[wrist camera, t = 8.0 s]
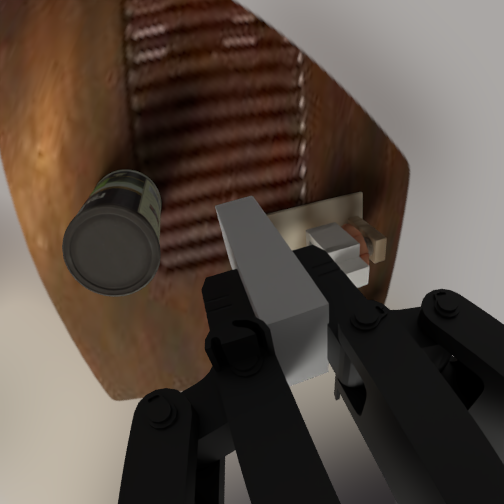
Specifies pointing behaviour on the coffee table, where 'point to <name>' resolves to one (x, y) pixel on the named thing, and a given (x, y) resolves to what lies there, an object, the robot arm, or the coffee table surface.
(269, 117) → the coffee table surface
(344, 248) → the sleeve
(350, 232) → the o ring
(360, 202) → the linear slide rail
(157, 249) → the coffee can
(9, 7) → the coffee table surface
